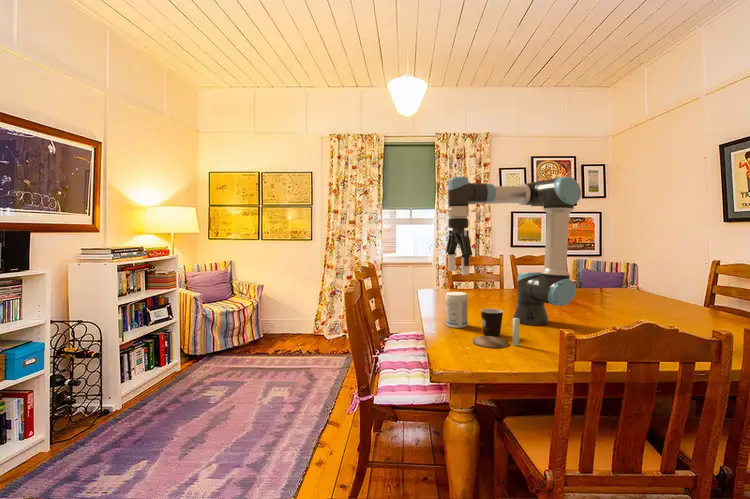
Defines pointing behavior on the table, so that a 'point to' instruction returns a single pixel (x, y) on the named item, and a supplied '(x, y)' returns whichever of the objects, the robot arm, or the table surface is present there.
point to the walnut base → (490, 342)
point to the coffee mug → (491, 322)
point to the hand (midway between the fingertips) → (458, 272)
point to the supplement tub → (456, 309)
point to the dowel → (516, 331)
